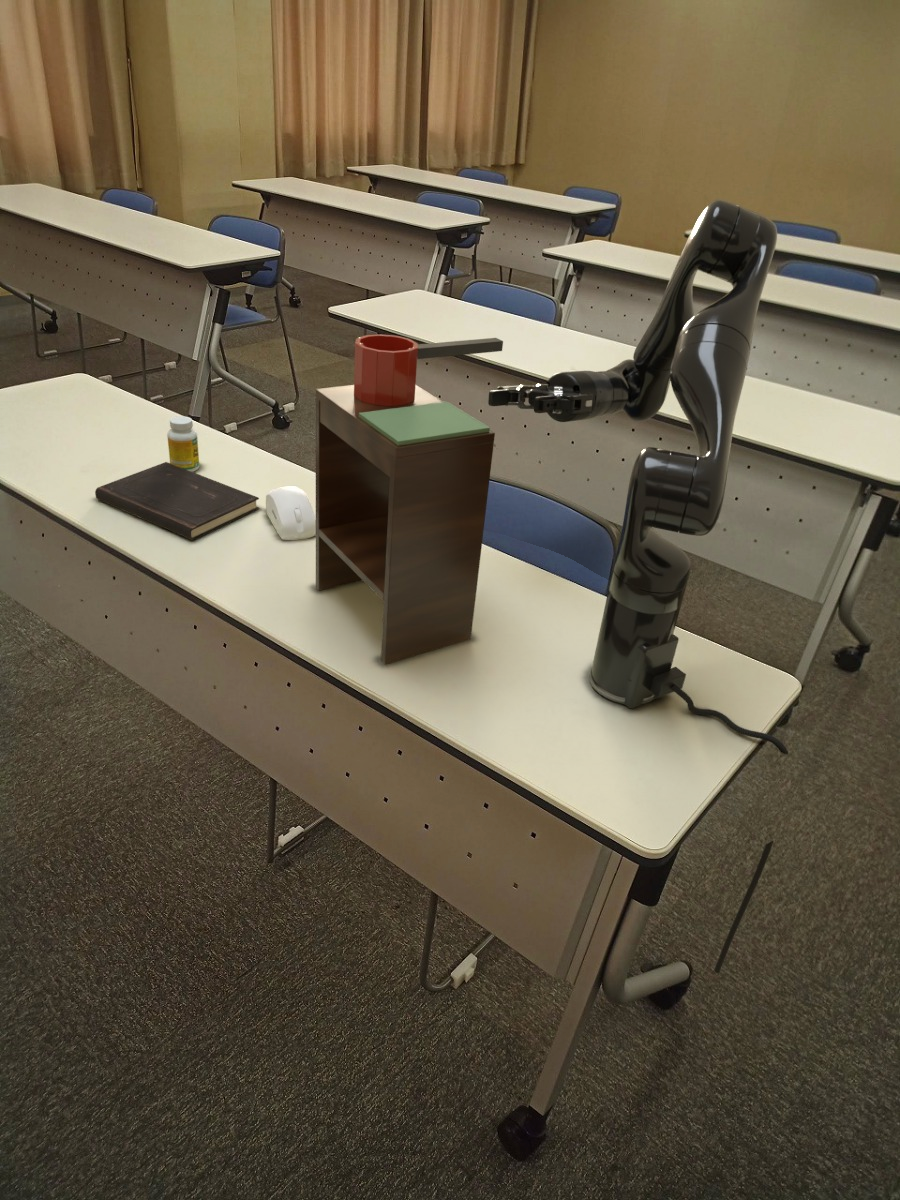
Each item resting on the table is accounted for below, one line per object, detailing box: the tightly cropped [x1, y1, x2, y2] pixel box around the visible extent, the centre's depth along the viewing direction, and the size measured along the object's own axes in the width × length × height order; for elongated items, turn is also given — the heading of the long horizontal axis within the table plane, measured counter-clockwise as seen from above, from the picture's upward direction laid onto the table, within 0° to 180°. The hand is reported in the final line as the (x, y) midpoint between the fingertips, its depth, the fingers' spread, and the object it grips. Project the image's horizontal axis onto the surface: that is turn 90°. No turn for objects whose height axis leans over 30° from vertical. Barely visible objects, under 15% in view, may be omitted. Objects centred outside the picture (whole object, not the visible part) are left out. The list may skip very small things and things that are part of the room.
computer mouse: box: [265, 485, 316, 541], centre depth 144 cm, size 6×13×6 cm, turn 24°
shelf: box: [315, 384, 496, 665], centre depth 117 cm, size 22×14×31 cm, turn 32°
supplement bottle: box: [166, 415, 200, 472], centre depth 159 cm, size 5×5×10 cm
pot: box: [353, 333, 504, 406], centre depth 114 cm, size 8×22×7 cm, turn 122°
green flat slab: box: [359, 401, 491, 446], centre depth 105 cm, size 10×13×1 cm
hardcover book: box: [94, 461, 260, 541], centre depth 148 cm, size 16×23×2 cm
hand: (512, 401), depth 122 cm, fingers open, 8 cm apart
